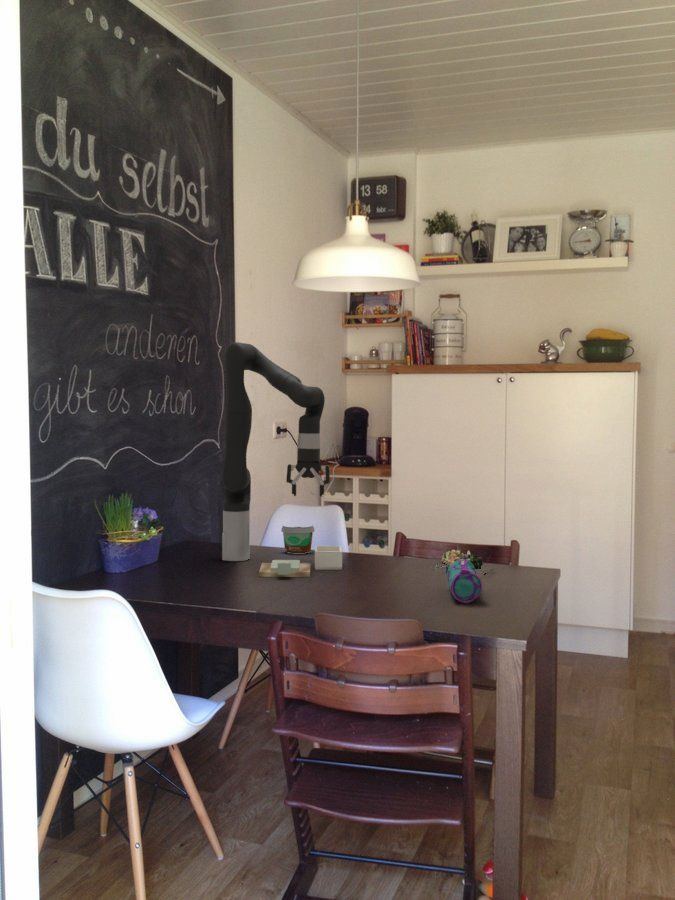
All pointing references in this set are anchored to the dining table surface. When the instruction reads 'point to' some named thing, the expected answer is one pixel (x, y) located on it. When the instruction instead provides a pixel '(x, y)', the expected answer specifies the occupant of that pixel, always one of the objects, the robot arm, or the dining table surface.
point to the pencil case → (463, 581)
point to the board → (303, 572)
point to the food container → (297, 539)
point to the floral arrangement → (457, 555)
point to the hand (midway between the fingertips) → (307, 496)
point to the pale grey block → (285, 566)
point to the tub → (328, 558)
